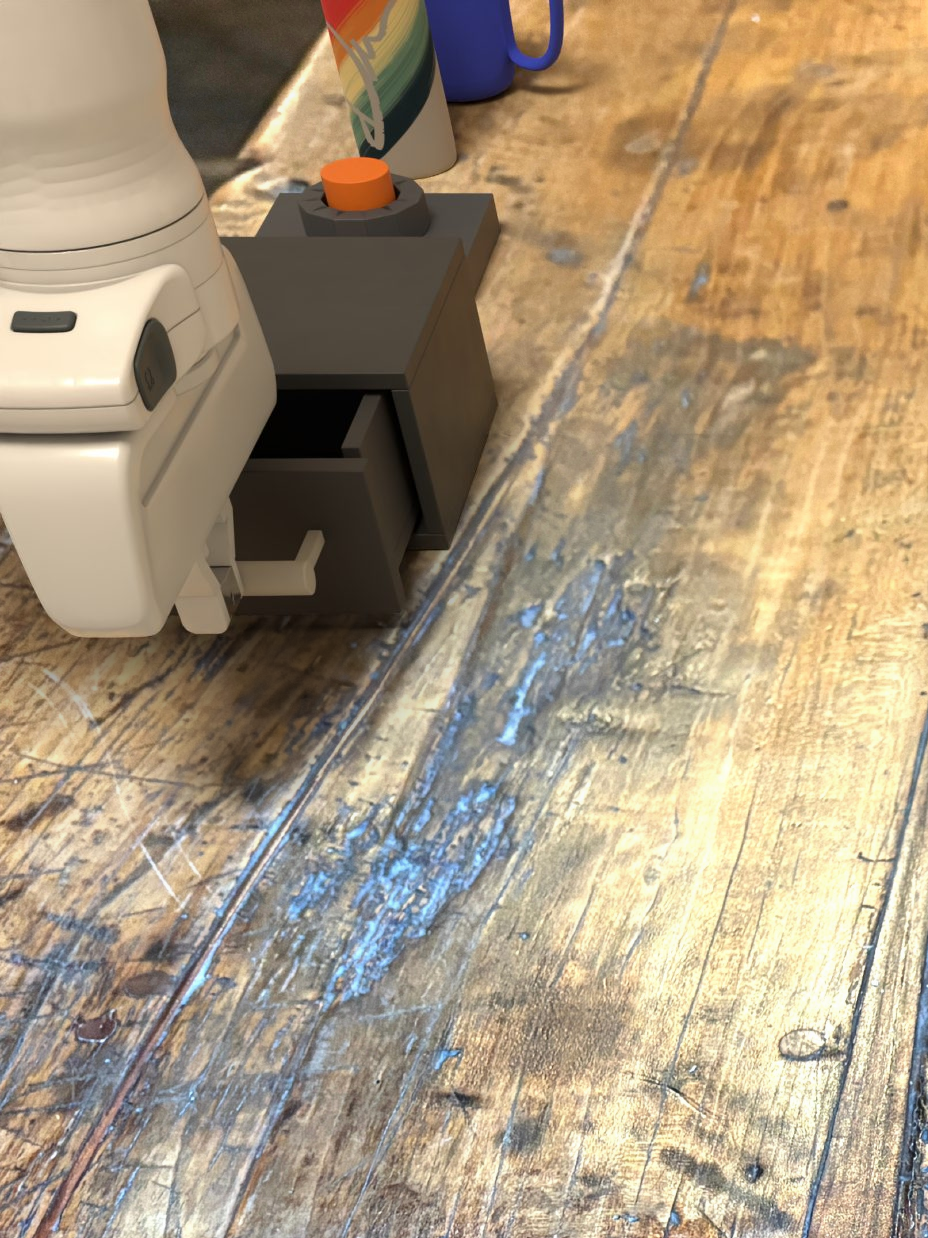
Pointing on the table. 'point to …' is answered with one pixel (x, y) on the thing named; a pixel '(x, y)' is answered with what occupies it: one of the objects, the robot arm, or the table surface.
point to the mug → (484, 46)
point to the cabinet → (384, 346)
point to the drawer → (324, 507)
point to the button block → (394, 219)
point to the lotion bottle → (392, 84)
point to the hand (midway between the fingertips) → (216, 615)
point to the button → (357, 184)
